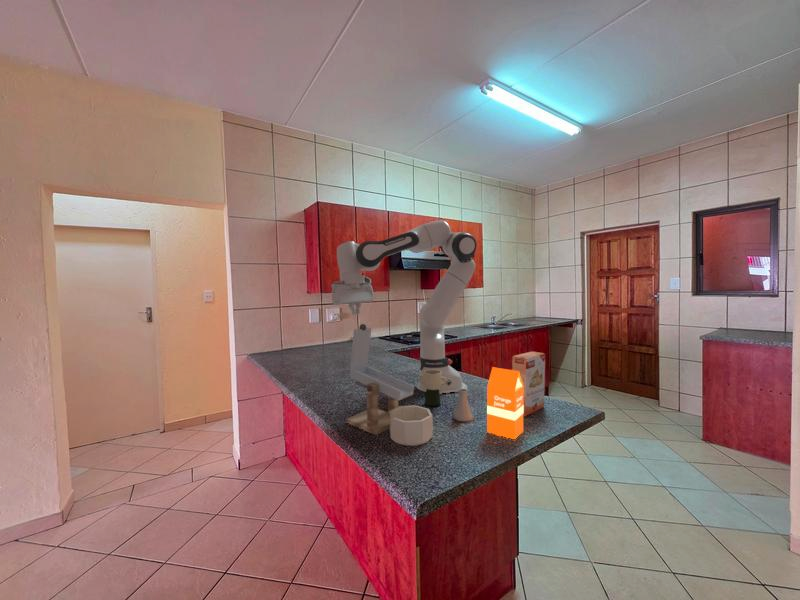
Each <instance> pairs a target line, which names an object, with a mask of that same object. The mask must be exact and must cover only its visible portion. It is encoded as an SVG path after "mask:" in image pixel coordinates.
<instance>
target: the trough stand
mask: <svg viewBox="0 0 800 600" xmlns="http://www.w3.org/2000/svg"><path fill="white" fill-rule="evenodd" d="M394 377H395V378H397V379H399V377H397V376H394ZM397 407H399V401H398V400H396V399H394V398H392V397H390V396H388V395H387V411H385V410H382V409H379V391H378V384H374V383H369V384H367V387H366V410H364V411H362V412H360V413H357V414H355V415H353V416H350V417H348V418H346V421H345V422H346V424H347V423H349V424H348V425H350V424H351V425H350V426H352V425H353V427H355V426H356V427H355V428H357V427H358V429H361V430H362V429H363V430H362V431H365V432H366V433H367V432H368V433H370V434H372V435H375V436H377V435H379V434H381V433H384V432H386V431H388V430H390V411H391V410H393V409H395V408H397Z"/></svg>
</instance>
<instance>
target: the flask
mask: <svg viewBox="0 0 800 600" xmlns="http://www.w3.org/2000/svg"><path fill="white" fill-rule="evenodd" d="M458 391H459V392H458V393H459V395H458V399H457V402H456V406H455V408H454V410H453V413H452V417H453V420H456V421H458V422H470V421H473V420H475V418H474V415H473V413H472V411H471V407H470V403H469V400H468V391H469V390H468V388H467V389H458Z"/></svg>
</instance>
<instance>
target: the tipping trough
mask: <svg viewBox="0 0 800 600" xmlns="http://www.w3.org/2000/svg"><path fill="white" fill-rule="evenodd" d="M371 335H372V327H367V325H366V324H364V323H361V324H360V325H359V328H356V329H353V335H352V344H351V345H352V346H351V357H350V370H349V378H351V379H352V380H355V381H356V382H355V383H356V385H357V386H359V387H360V388H363V389H367V384H369V383H374V384H378V393H379V392H380V393H382V394H384V395H386V396H387V397H388V396H390V397H392V398H394V399H396V400H398V402H399V401H401V400H403V399H406V398H408V397H410V396H413V395H414V392H415V391H414V390H415V389H414V388H415V385H413V384H411V383H410V382H407V381H404V380H402V379H400V378H398V379H397V378H395V377H396V376H392V375H390V374H388V373H386V372H383V371H380V370H378V369H376V368H374V367H371V366H370V365H369V359H370V358H369V357H370V355H369V354H370V345H371V337H372V336H371Z"/></svg>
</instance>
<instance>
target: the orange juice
mask: <svg viewBox="0 0 800 600" xmlns="http://www.w3.org/2000/svg"><path fill="white" fill-rule="evenodd" d="M486 390H487V393H486V397H487V398H486V399H487V400H486V401H487V402H486V405H487V406H486V414H487V415H486V417H487V419H486V421H487V422H486V426H487V427H486V429H487V430H486V432H487V433H488V434H491V433H492V434H491V435H494V434H495V436H497V437H501V436H503V437H502V438H504V437H506V438H505V439H508V438H511V439H516V438H517V437H518V436H519V435H520V434H521V433H523V432H524V416H523V413H524V405H523V384H522V380H521V377H520V373H519V371H514V370H512V369H508V368H499V367H496V366H495V367H494V366H492V367H491V371H490V375H489V379H488V383H487V389H486ZM521 435H522V434H521ZM521 435H520V436H521ZM520 436H519V437H520ZM519 437H518V438H519ZM518 438H517V439H518ZM511 439H510V440H511ZM517 439H516V440H517Z"/></svg>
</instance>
